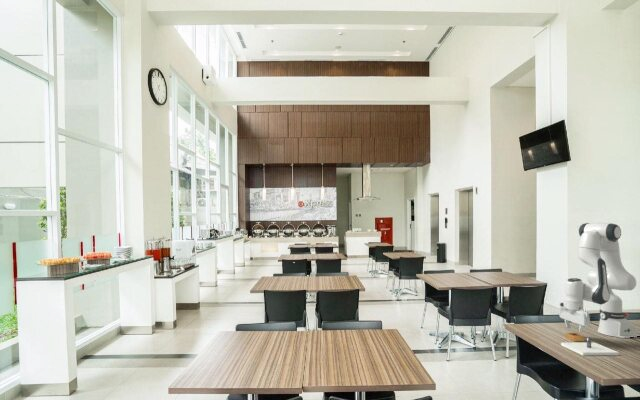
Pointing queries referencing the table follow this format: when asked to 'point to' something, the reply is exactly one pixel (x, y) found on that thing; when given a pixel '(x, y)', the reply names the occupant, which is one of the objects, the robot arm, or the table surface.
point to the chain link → (574, 337)
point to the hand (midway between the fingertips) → (574, 330)
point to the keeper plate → (589, 348)
